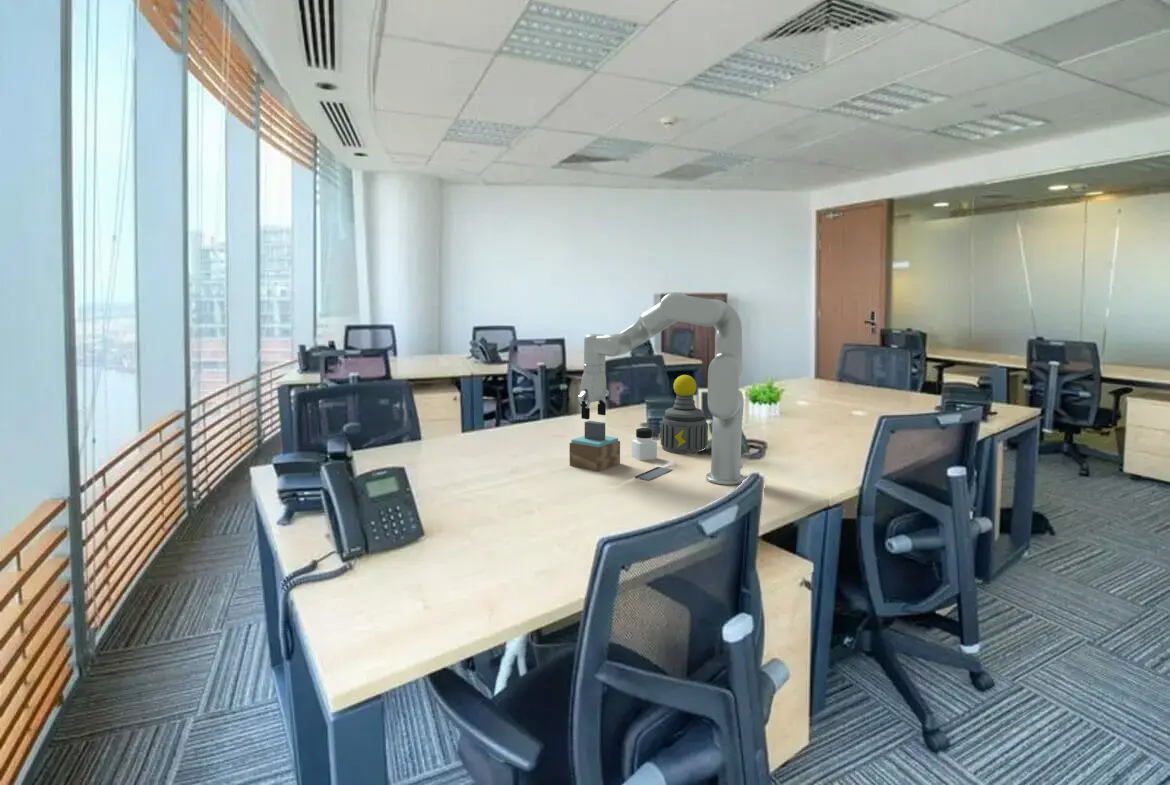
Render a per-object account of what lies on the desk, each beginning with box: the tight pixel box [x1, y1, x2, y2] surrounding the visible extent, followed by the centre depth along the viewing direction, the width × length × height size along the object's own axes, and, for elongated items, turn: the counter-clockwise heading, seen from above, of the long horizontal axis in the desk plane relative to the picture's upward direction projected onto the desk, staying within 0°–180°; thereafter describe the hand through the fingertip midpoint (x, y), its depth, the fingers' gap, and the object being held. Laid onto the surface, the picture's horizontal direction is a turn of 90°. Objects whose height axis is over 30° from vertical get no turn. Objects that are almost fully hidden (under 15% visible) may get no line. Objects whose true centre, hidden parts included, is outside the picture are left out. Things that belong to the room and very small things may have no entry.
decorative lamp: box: [659, 374, 709, 454], centre depth 248 cm, size 19×19×30 cm
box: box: [569, 440, 621, 472], centre depth 224 cm, size 13×13×9 cm
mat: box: [634, 466, 673, 481], centre depth 217 cm, size 16×16×1 cm
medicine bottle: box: [631, 426, 658, 461], centre depth 233 cm, size 7×7×12 cm
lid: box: [570, 420, 619, 448], centre depth 222 cm, size 12×12×7 cm
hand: (593, 416), depth 222 cm, fingers open, 9 cm apart
